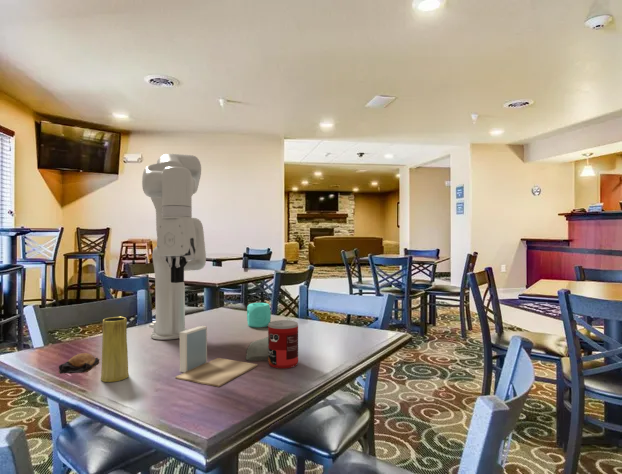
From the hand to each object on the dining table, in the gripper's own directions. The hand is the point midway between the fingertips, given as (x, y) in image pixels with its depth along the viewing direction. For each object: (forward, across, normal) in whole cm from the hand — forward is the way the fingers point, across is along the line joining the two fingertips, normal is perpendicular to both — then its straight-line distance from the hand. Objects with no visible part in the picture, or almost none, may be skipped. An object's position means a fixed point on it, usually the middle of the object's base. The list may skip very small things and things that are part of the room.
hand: (177, 282), depth 106 cm
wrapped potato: (+22, -23, -12) cm, 34 cm away
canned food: (+22, +26, +12) cm, 36 cm away
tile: (+22, +5, 0) cm, 23 cm away
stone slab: (+23, +13, +22) cm, 34 cm away
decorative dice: (+21, -5, +48) cm, 53 cm away
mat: (+22, +13, 0) cm, 26 cm away
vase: (+22, -7, -14) cm, 27 cm away
